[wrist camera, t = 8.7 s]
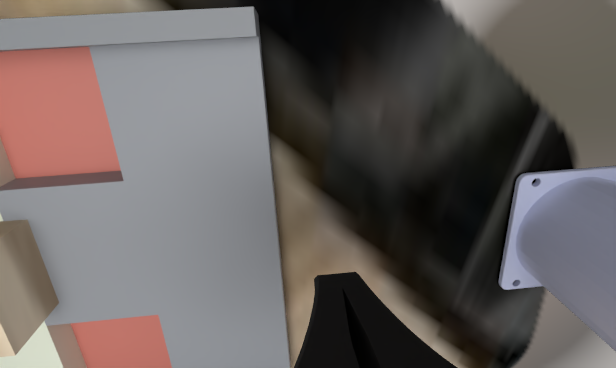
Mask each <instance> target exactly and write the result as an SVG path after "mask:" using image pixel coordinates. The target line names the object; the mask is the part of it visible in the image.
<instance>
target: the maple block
mask: <svg viewBox="0 0 616 368" xmlns="http://www.w3.org/2000/svg"><path fill="white" fill-rule="evenodd" d="M58 304H59V301H58V298H57V296H56V293H55V290H54V288H53V285H52V283H51V280H50V277H49V275H48V272H47V269H46V267H45V264H44V262H43V259H42V256H41V254H40V251H39V248H38V246H37V243H36V241H35V238H34V235H33V233H32V230H31V227H30V225H29V222H28V220H27V219H26V220H13V221H1V222H0V357H6V356H16V354H17V353H18V352H19V351H20V350H21V348H22V347H23V346H24V345H25V343H26V342H27V341H28V340H29V339H30V337H31V336H32V335H33V334H34V333H35V331H36V330H37V329H38V328H39V327H40V325H41V324H42V323H43V322H44V321H45V319H46V318H47V317H48V316H49V314H50V313H51V312H52V311H53V310H54V308H55V307H56V306H57V305H58Z"/></svg>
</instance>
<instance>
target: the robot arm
mask: <svg viewBox="0 0 616 368" xmlns="http://www.w3.org/2000/svg"><path fill="white" fill-rule="evenodd" d="M534 179H536V181H535V182H534V183H533V184H532V181H533V180H534ZM515 280H516V281H515ZM514 281H515V282H514ZM498 282H499V285H500V286H501V287H502V288H503V289H505V290H509V289H519V288H529V287H539V286H544V287H545V288H546V289H547V290H548V291H549V292H551V293H552V294H553V295H554V296H555V297H556V298H557V299H558V300H559V301H561V302H562V303H563V304H564V305H565V306H566V307H567V308H568V309H569V310H571V311H572V312H573V313H574V314H575V315H576V316H577V317H578V318H579V319H580V320H582V321H583V322H584V323H585V324H586V325H587V326H588V327H589V328H590V329H591V330H593V331H594V332H595V333H596V334H597V335H598V336H599V337H600V338H601V339H603V340H604V341H605V342H606V343H607V344H608V345H609V346H610V347H611V348H612V349H614V350H615V351H616V166H606V167H594V168H581V169H569V170H557V171H545V172H532V173H524V174H521V175H520V176H519V177H518V178H517V180H516V184H515V189H514V195H513V201H512V206H511V212H510V218H509V224H508V229H507V235H506V241H505V247H504V252H503V258H502V264H501V270H500V275H499V281H498ZM314 283H315V296H314V303H313V308H312V313H311V318H310V322H309V326H308V329H307V332H306V336H305V339H304V342H303V345H302V348H301V351H300V354H299V356H298V359H297V361H296V364H295V366H294V368H457V367H456V366H454V365H453V364H451V363H450V362H449V361H447V360H446V359H444V358H443V357H442V356H441V355H439V354H438V353H437V352H435V351H434V350H433V349H432V348H430V347H429V346H428V345H427V344H426V343H424V342H423V341H422V340H421V339H420V338H418V337H417V336H416V335H415V334H414V333H413V332H412V331H411V330H410V329H408V328H407V327H406V326H405V325H404V324H403V323H402V322H401V321H400V320H399V319H398V318H397V317H396V316H395V315H394V314H393V313H392V312H391V311H390V310H389V309H388V308H387V307H386V306H385V305H384V304H383V303H382V302H381V300H380V299H379V298H378V297H377V296H376V295H375V294H374V293H373V291H372V290H371V289H370V288H369V287H368V286H367V284H366V283H365V282H364V281H363V279H362V278H361V277H360V276H359V275H358V274H357V273H356V272H349V273H339V274H329V275H318V276H317V277H316V278H315V279H314Z"/></svg>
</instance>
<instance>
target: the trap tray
mask: <svg viewBox="0 0 616 368" xmlns="http://www.w3.org/2000/svg"><path fill="white" fill-rule="evenodd" d="M26 219H27V220H28V222H29V225H30V227H31V230H32V233H33V235H34V238H35V241H36V243H37V246H38V248H39V251H40V254H41V256H42V259H43V262H44V264H45V267H46V269H47V272H48V275H49V277H50V280H51V283H52V285H53V288H54V290H55V293H56V296H57V298H58V301H59V304H58V305H57V306H56V307H55V308H54V310H53V311H52V312H51V313H50V314H49V316H48V317H47V318H46V319H45V321H44V322H43V323H42V324H41V325H40V327H39V328H38V329H37V330H36V331H35V333H34V334H33V335H32V336H31V337H30V339H29V340H28V341H27V342H26V343H25V345H24V346H23V347H22V348H21V350H20V351H19V352H18V353H17V354H16V356H6V357H0V368H291V362H290V352H289V341H288V330H287V319H286V309H285V298H284V287H283V277H282V266H281V255H280V244H279V234H278V223H277V212H276V201H275V191H274V180H273V169H272V159H271V148H270V137H269V126H268V116H267V105H266V94H265V83H264V73H263V62H262V51H261V40H260V30H259V19H258V14H257V12H256V10H255V8H254V7H236V8H215V9H195V10H175V11H154V12H134V13H113V14H93V15H73V16H52V17H32V18H12V19H0V222H1V221H13V220H26Z"/></svg>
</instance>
